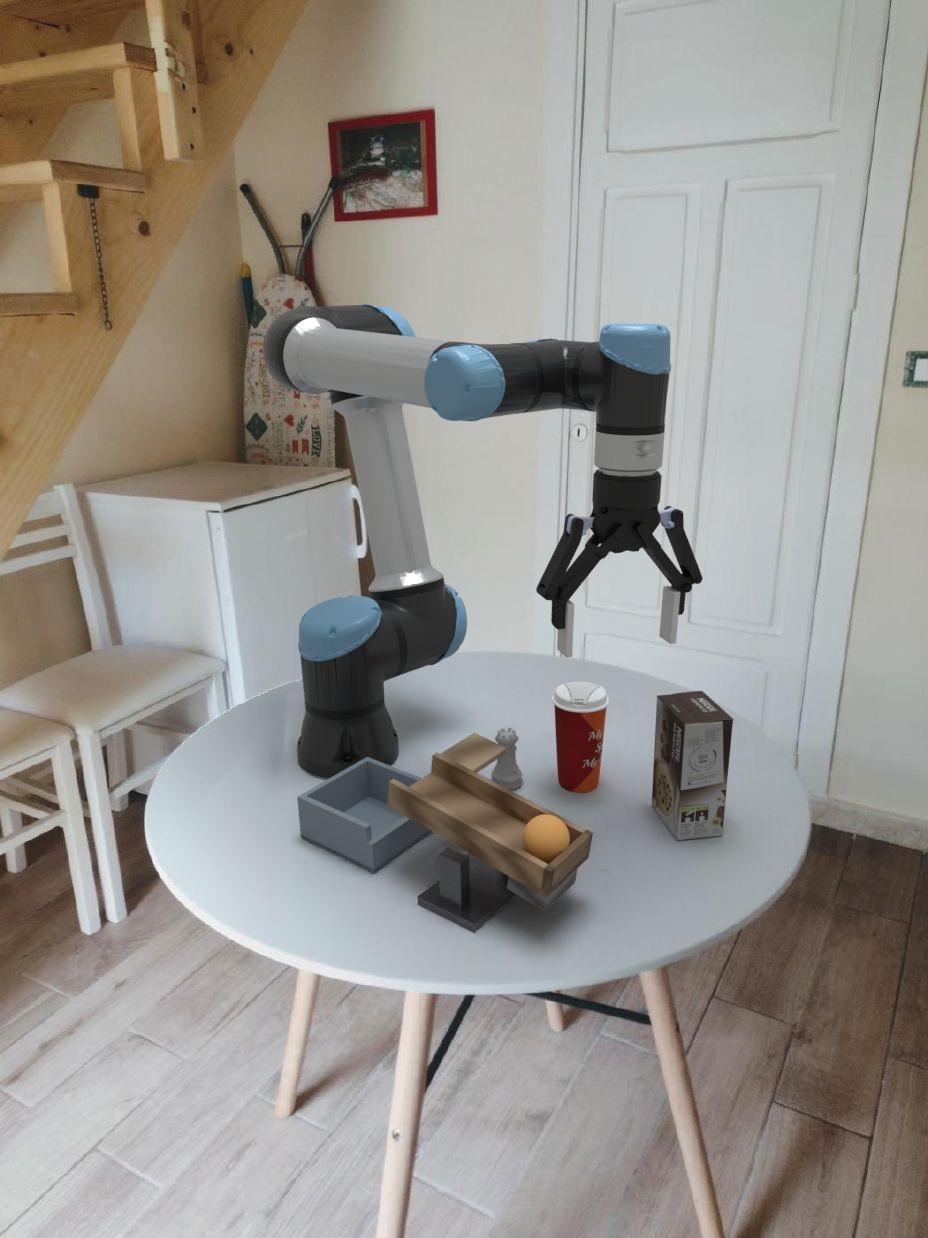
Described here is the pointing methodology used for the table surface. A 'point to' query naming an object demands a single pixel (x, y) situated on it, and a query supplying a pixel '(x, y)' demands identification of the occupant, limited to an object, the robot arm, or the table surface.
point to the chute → (489, 820)
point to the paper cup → (579, 734)
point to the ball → (545, 837)
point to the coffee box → (691, 764)
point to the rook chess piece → (507, 761)
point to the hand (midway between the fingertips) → (616, 646)
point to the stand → (466, 890)
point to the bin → (359, 815)
